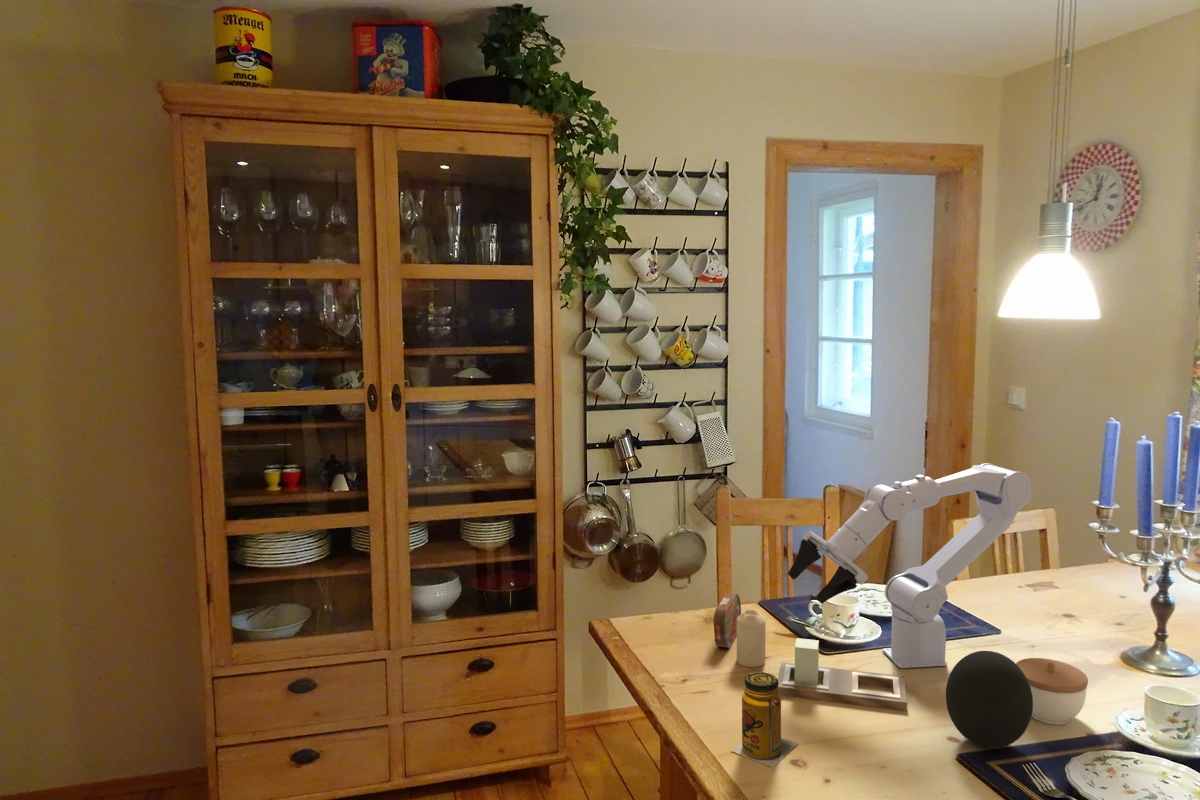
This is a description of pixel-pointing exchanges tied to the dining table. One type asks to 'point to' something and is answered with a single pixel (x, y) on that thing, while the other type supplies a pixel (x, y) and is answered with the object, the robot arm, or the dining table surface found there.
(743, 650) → the candle
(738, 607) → the tin
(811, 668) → the peg
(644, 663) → the dining table surface
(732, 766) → the dining table surface
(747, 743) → the condiment
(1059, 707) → the lidded jar
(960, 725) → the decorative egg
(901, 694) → the socket board
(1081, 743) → the dining table surface
